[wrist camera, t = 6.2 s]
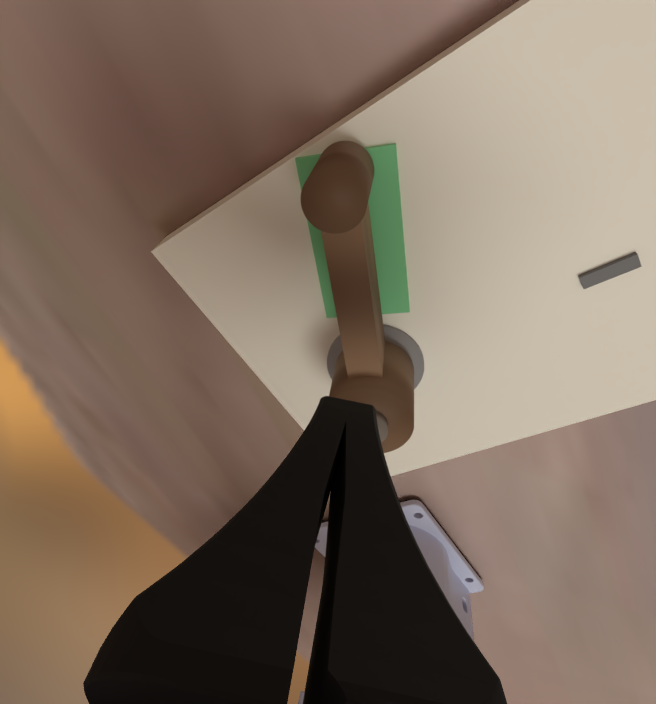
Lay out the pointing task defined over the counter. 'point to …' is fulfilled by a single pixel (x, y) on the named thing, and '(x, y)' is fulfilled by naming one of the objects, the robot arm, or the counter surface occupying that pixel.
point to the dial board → (468, 235)
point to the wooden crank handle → (358, 291)
